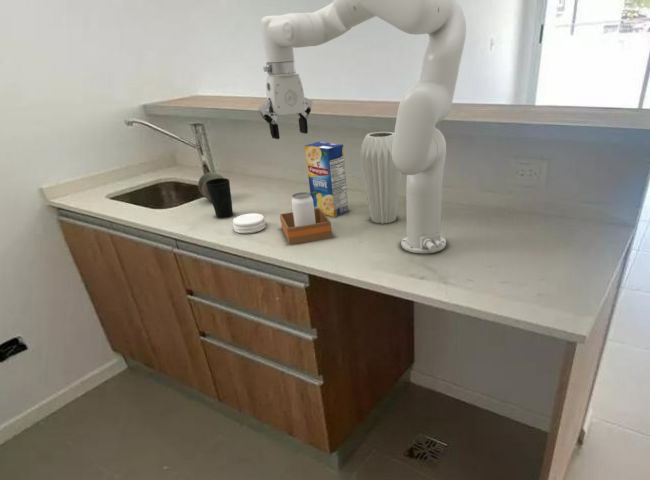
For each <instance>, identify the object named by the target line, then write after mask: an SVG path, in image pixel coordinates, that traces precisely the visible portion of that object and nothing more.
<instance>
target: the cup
mask: <svg viewBox="0 0 650 480" xmlns="http://www.w3.org/2000/svg"><path fill="white" fill-rule="evenodd" d="M230 184H231V183H230V179H229V178H225V177H223V178H218V179H212V180H209V181H207V182H206V185H207V188H208V192H209V195H210V198H211V200H210V201H211V203H212V206H213V210H214V213H215V216H216V218H217V219H228V218H231V217H233V216H234V209H233V201H232V193H231V186H230Z"/></svg>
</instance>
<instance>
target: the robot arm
mask: <svg viewBox="0 0 650 480" xmlns="http://www.w3.org/2000/svg"><path fill="white" fill-rule="evenodd" d="M375 17H377V18H379V19H381V20H382V21H384V22H385V23H387V24H389V25H391V26H393V27H395V28H396V29H398V30H399V31H401V32H404V33H406V34H410V35H415V36H417V35H426V34H427V35H428V39H429V41H428V44H427V47H426V49H425V52H424V57H423V60H422V67H421V72H420V76H419V80H418V83H416V84H413V85H411V86H410V87H408V88H407V89H406V91H405V92H404V93H403V95H402V96H401V98H400V101H399V104H398V108H397V114H396V120H395V127H394V132H393V133H394V138H393V145H392V159H393V162H394V165H395V166H396V168H397V169H398V170H399V171H400V172H401V174H403V175H406V183H405V185H406V186H405V187H406V189H405V191H406V193H405V194H406V197H405V199H406V200H405V203H406V236H404V237H403V238H402V239H401V242H400V243H401V248H402V249H403V250H405V251H407V252H409V253H412V254H421V255H422V254H423V255H424V254H435V253H438V252H440V251H442V250H444V249H445V248H446V247H447V241H446V238H444V236H441V235H442V207H443V203H442V202H443V182H444V171H445V170H444V168H445V164H446V163H445V162H446V156H447V142H446V138H445V136H444V134H443V132H441V130H440V129H439V128H437V127H436V124H438V123H439V122H442V121H443V120H444V119H445V118H447V117H448V115H449V114H450V112H451V109H452V105H453V100H454V95H455V90H456V86H457V81H458V76H459V72H460V66H461V63H462V58H463V52H464V47H465V44H466V37H467V36H466V34H467V24H466V17H465V14H464V11H463V9H462V7H461V5H460V4H459V3H458V1H457V0H333V1H332V2H331V3H329V4H327V5H326V6H324V7H322V8H320V9H318V10H316V11H314V12H289V13H285V14H282V15H281V14H280V15H279V14H278V15H277V14H276V15H266V16H263V17H262V18H261V20H260V28H261V34H262V40H263V41H262V42H263V49H264V55H265V62H266V63H265V64H266V65H264V66H263V68H262V69H263V72H265V73H267V74H268V75H266V81H265V82H266V83H265V88H266V91H265V92H266V101H265V102H264V103H262V105H261V106H259V107H258V108H257V110H258V112H259V114H260V116H261V118H262V119H263V120H264V121H265V122H266V123H267V124H268V127H269V132H270V136H271V138H272V139H275V140H280V138H281V135H280V131H279V130H280V129H279V124H278V123H277V121H278V119H279V117H287V116H293V115H297V116H299V118H298V127H299V133H301V134H305V135H307V134H308V132H309V130H308V129H309V127H308V119H309V115H310V114H311V111H312V108H313V107H312V106H313V100H311V99H309V98H308V97H306V96H305V93H304V88H303V83H302V80H301V77H300V74H299V73H297V71H296V61H295V54H294V48H295V49H297V48H306V47H307V48H308V47H317V46H321V45H324V44H326V43H328V42H330V41H332V40H335V39H336V38H339V37H341V36H342V35H344V34H346V33H347V32H349V31H350V30H351V29H352V28H354V27H356V26H358V25H360V24H362V23H364V22H366V21H368V20H370V19H373V18H375ZM267 110H268V113H269V114H268V113H267Z"/></svg>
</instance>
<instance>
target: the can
mask: <svg viewBox="0 0 650 480" xmlns="http://www.w3.org/2000/svg"><path fill="white" fill-rule="evenodd" d="M291 197H292V198H291V209H292V212H293V217H294V224H295V227H297V226H304V225H310V224H316V221H315V212H314V204H313V198H312V197H311V194H310V192H306V191H305V192H304V191H303V192H301V191H300V192H295V193H293V194H292V196H291Z"/></svg>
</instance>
